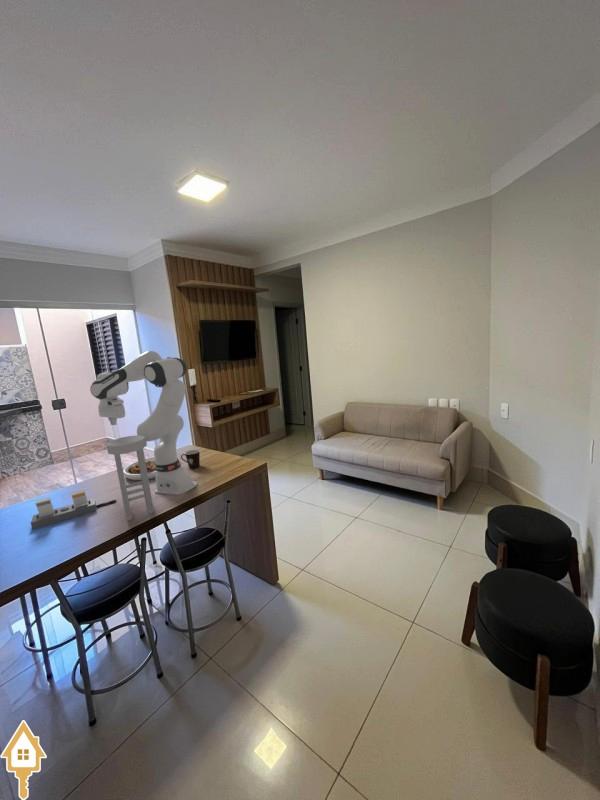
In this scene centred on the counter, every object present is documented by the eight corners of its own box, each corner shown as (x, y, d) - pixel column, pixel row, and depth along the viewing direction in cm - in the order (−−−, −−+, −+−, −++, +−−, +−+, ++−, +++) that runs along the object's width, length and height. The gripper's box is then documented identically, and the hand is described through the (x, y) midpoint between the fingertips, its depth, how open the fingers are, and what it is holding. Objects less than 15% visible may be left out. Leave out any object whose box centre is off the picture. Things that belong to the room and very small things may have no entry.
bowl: (129, 468, 206) (127, 457, 205) (178, 459, 215) (176, 449, 214) (120, 486, 178) (117, 473, 176) (176, 476, 187) (174, 463, 186)
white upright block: (87, 500, 153) (84, 489, 148) (87, 503, 151) (84, 492, 147) (74, 504, 150) (71, 492, 146) (75, 507, 149) (71, 495, 144)
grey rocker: (53, 509, 146) (49, 497, 142) (53, 513, 144) (49, 500, 141) (40, 513, 143) (35, 500, 139) (40, 516, 141) (35, 503, 138)
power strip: (115, 498, 162) (113, 490, 162) (116, 504, 156) (115, 496, 155) (34, 522, 145) (32, 512, 144) (32, 530, 138) (30, 520, 137)
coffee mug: (204, 465, 200) (202, 450, 198) (193, 470, 193) (191, 455, 191) (192, 463, 206) (190, 448, 204) (181, 467, 199) (179, 452, 197)
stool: (159, 512, 145) (147, 439, 139) (121, 524, 137) (106, 448, 131) (154, 499, 158) (143, 433, 152) (119, 510, 150) (106, 440, 144)
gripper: (93, 401, 180) (98, 425, 182) (114, 402, 170) (118, 427, 172) (104, 399, 185) (108, 422, 188) (125, 400, 175) (129, 424, 178)
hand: (113, 424), depth 180 cm, fingers closed
